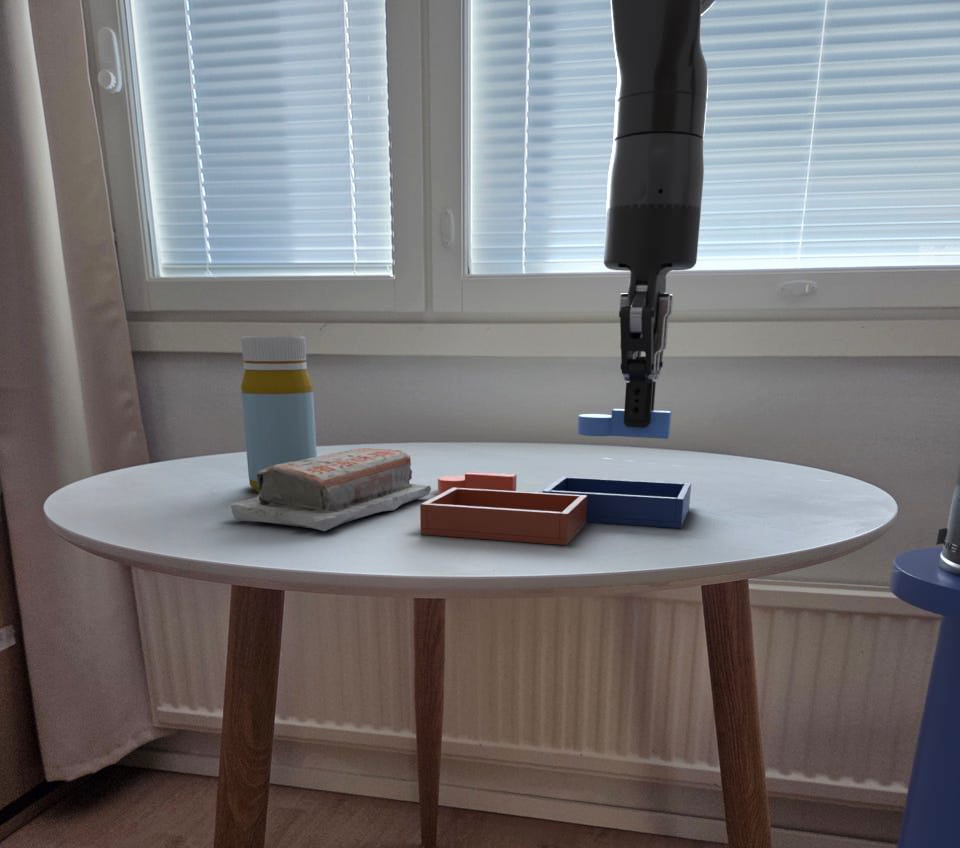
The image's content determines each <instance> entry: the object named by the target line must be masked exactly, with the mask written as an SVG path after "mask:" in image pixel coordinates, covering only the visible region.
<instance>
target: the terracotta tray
mask: <svg viewBox="0 0 960 848" xmlns="http://www.w3.org/2000/svg"><path fill="white" fill-rule="evenodd" d="M419 511H420V512H419V513H420V517H419V519H420V522H419V523H420V535H424V536H438V537H451V538H464V539H479V540H489V541H490V540H491V541H503V542H504V541H505V542H517V543H529V544H530V543H531V544H542V545H543V544H544V545H555V546H567V545H568V544H569V543H570V542H572V540H573V539H574V538H575V537H576V535H578V533H580V531H582V529H583V528H585V526H586V525H587V522H586V515H587V495H572V494H555V493H542V492H537V491H522V490H521V491H518V490H516V491H504V490H487V489H470V488H451V489H449V490H447V491H445V492H443V493H441V494H437V495H435V496H434V497H432V498H429V499H427V500H425V501H424V502H422V503H420V505H419Z"/></svg>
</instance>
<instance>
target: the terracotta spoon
mask: <svg viewBox="0 0 960 848" xmlns="http://www.w3.org/2000/svg"><path fill="white" fill-rule="evenodd" d="M451 488H470V489H487V490H504V491H517V474H515V473H496V472H479V471H468V472H466V473H464V475H444V476H440V477H438V478H437V495H439V494H441V493H443V492H445V491H447V490H449V489H451Z"/></svg>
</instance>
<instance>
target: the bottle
mask: <svg viewBox="0 0 960 848" xmlns="http://www.w3.org/2000/svg"><path fill="white" fill-rule="evenodd" d="M240 340H241V341H240V342H241V350H242V351H241V352H242V359H243V361H244V362H243V370H244V373H243V377H242V381H241V385H240V388H241V389H240V390H241V392H240V393H241V404H242V415H243V427H244V438H245V449H246V460H247V472H248V482H249V486H250V487H251V488H252V489H253V490H254V491H255V492H256V493H259V491H258V485H257V480H256V478H257V474H258V473H259V471H260V470H262V469H265V468H267V467H270V466H273V465H277V464H283V463H287V462H293V461H299V460H304V459H308V458H314V457H318V452H317V438H316V437H317V433H316V420H315V419H316V418H315V417H316V416H315V402H314V401H315V400H314V390H313V389H314V388H313V383H312V381H311V378H310V374H309V373H308V370H307V369H308V367H307V366H308V364H307V357H308V356H307V342H306V340H307V339H306V336H299V335H298V336H297V335H296V336H295V335H294V336H293V335H274V336H273V335H254V336H253V335H252V336H251V335H250V336H249V335H248V336H247V335H245V336H243V335H242V336H241V339H240Z"/></svg>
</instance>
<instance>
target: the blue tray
mask: <svg viewBox="0 0 960 848" xmlns="http://www.w3.org/2000/svg"><path fill="white" fill-rule="evenodd" d="M691 491H692V483H689V482H685V483H684V482H675V481H674V482H673V481H671V482H670V481H656V480H655V481H653V480H636V479H634V480H633V479H617V478H616V479H615V478H600V477H599V478H597V477H596V478H595V477H581V476H580V477H578V476H576V477H575V476H561V477H559V478H558V479H557V480H555V481H554V482H552V483H551V484H549V485H548V486H547V487H545V488H544V489H543V490H542V491H541V493H555V494H572V495H587V515H586V523H594V524H595V523H597V524H611V525H625V526H639V527H640V526H641V527H653V528H654V527H657V528H670V529H682V527H683V524H684V522H685V520H686V518H687V515H688V513H689V511H690V504H691V503H690V502H691Z"/></svg>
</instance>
